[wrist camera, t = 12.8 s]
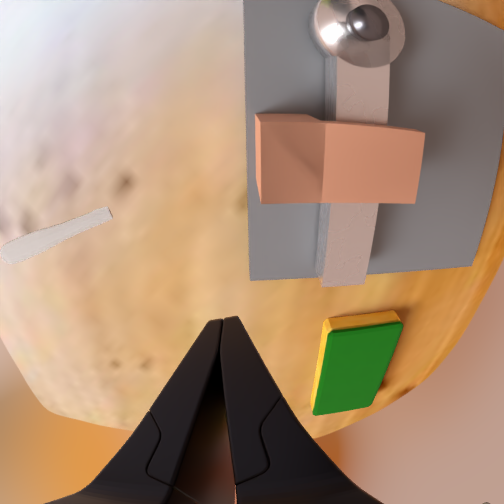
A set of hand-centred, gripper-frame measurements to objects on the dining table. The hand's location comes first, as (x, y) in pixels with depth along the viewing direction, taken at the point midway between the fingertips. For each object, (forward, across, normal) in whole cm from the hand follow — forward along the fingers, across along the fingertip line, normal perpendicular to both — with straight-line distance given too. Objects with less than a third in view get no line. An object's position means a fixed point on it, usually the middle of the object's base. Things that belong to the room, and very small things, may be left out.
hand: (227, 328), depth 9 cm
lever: (+12, -8, -2) cm, 14 cm away
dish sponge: (+14, -7, +21) cm, 26 cm away
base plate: (+13, -12, -1) cm, 17 cm away
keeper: (+12, -6, -1) cm, 14 cm away
